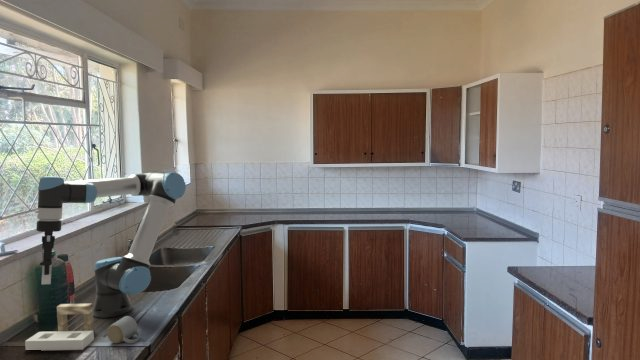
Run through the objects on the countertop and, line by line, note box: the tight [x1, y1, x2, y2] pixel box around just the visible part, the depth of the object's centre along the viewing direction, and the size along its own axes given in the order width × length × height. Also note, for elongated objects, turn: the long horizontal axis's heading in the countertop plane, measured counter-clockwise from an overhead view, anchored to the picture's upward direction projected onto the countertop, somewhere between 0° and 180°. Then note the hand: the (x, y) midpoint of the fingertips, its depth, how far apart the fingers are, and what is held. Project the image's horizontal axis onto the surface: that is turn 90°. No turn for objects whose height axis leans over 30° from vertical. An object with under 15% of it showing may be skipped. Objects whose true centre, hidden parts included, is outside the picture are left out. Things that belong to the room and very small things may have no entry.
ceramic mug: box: [106, 315, 141, 344], centre depth 165 cm, size 11×8×8 cm
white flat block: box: [24, 330, 95, 351], centre depth 162 cm, size 20×8×4 cm, turn 90°
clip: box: [56, 302, 95, 331], centre depth 173 cm, size 12×3×11 cm, turn 90°
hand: (46, 280), depth 160 cm, fingers open, 13 cm apart
